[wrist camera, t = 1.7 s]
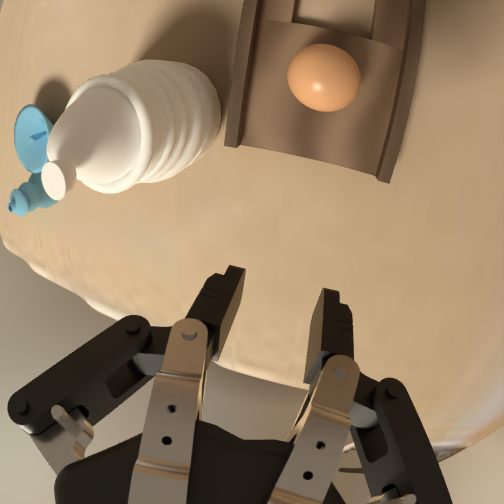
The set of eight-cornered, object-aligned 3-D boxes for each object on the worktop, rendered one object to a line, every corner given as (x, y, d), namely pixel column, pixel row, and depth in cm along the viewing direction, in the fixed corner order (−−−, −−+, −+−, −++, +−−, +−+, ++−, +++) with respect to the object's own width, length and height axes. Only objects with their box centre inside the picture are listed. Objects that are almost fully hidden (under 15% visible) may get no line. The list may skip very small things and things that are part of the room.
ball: (360, 58, 20) (372, 49, 15) (349, 116, 23) (358, 123, 18) (295, 44, 20) (289, 31, 15) (286, 102, 24) (277, 105, 19)
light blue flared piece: (37, 95, 29) (-8, 107, 21) (77, 104, 29) (26, 118, 22) (33, 192, 39) (-3, 214, 32) (68, 212, 39) (30, 240, 32)
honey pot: (245, 121, 27) (151, 167, 12) (166, 189, 33) (64, 274, 18) (172, 39, 23) (38, 24, 8) (106, 116, 29) (-14, 160, 15)
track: (417, -48, 11) (425, -58, 8) (383, 174, 26) (389, 183, 24) (267, -78, 13) (262, -91, 10) (232, 140, 28) (224, 145, 26)
